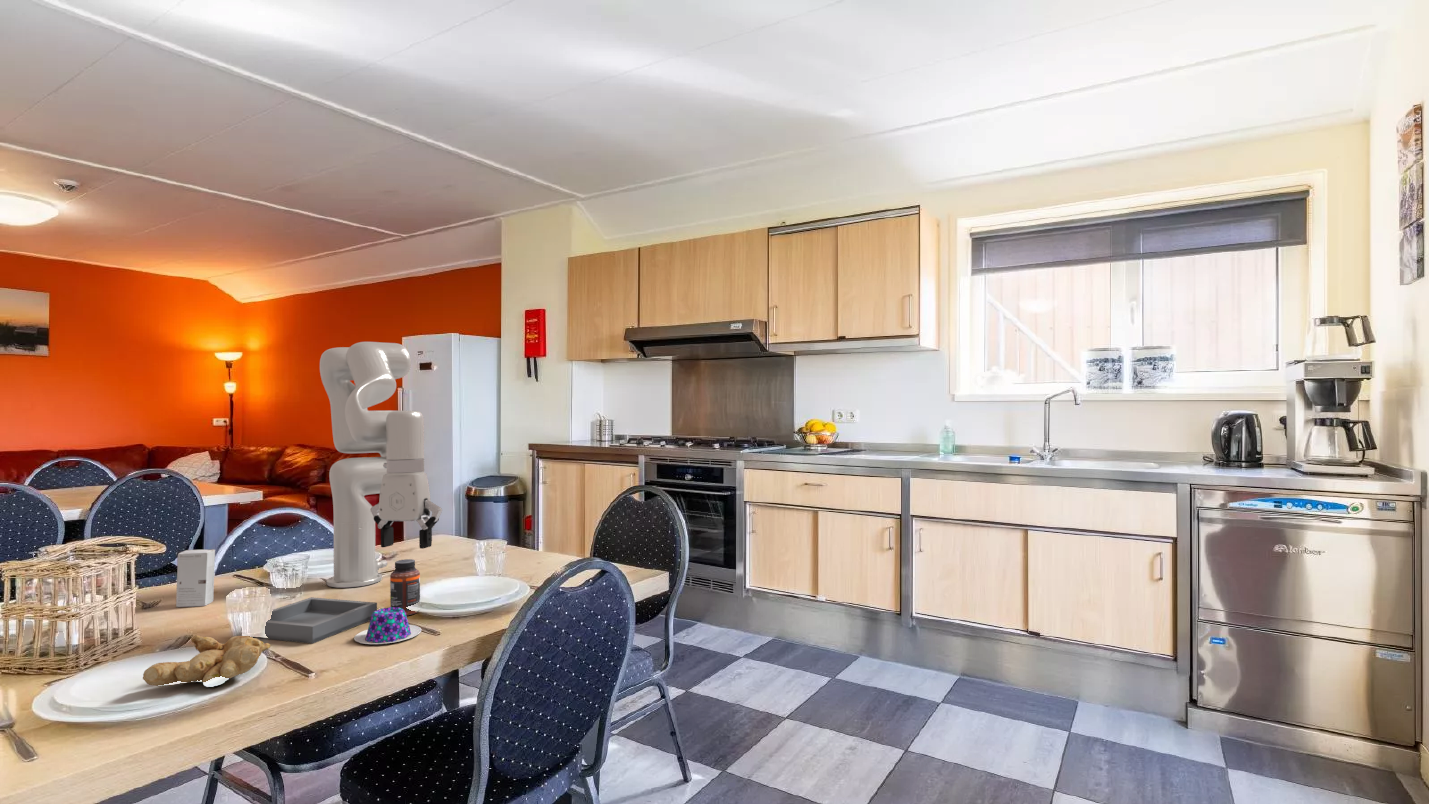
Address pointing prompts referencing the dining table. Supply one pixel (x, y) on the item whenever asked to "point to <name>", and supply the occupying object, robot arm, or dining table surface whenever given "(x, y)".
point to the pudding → (387, 627)
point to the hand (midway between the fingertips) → (406, 546)
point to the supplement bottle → (405, 585)
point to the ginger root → (209, 661)
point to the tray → (317, 619)
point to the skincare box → (195, 578)
